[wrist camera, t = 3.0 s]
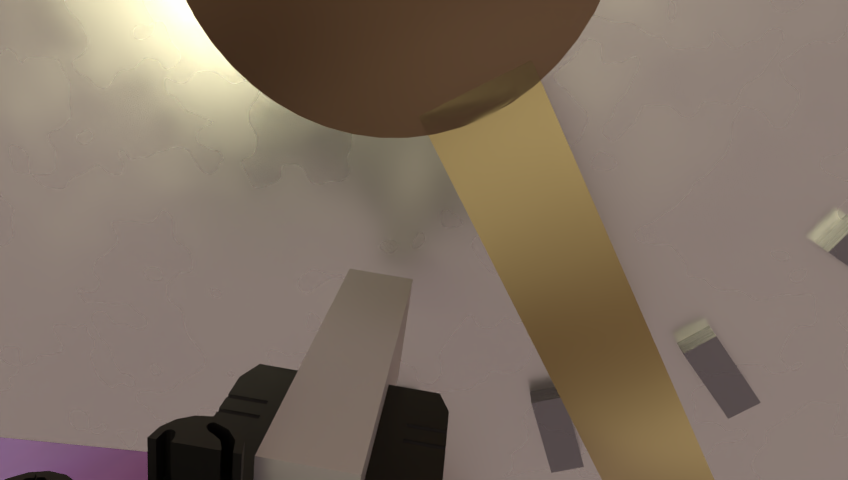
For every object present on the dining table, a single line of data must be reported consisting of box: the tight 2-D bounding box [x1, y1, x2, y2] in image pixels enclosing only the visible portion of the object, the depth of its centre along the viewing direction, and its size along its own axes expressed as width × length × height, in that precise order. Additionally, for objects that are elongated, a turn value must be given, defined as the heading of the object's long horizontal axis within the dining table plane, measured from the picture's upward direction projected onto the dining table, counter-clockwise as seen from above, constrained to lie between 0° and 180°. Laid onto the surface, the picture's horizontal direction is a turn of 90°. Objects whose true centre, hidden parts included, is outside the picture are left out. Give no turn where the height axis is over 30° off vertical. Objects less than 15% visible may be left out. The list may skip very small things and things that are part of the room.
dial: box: [186, 0, 714, 480], centre depth 13 cm, size 19×7×4 cm, turn 27°
